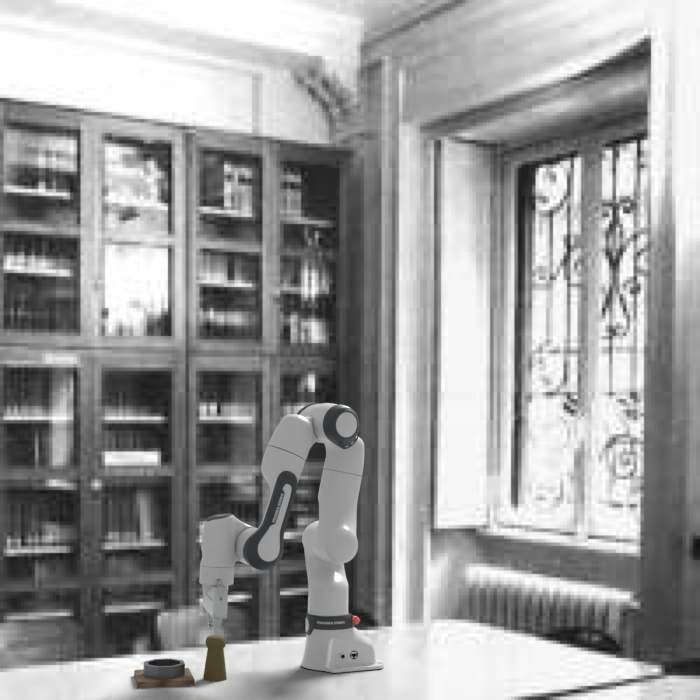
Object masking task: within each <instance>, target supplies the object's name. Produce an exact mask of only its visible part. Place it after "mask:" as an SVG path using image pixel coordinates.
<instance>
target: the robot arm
mask: <svg viewBox="0 0 700 700" xmlns="http://www.w3.org/2000/svg"><path fill="white" fill-rule="evenodd" d="M271 435H272V436H271V437H270V439H269V442H268V444H267V446H266V448H265V451H264V454H263V457H262V461H261V465H260V466H261V467H260V470H261V474H262V477H263V478H264V480H265V481H266V482H267V485H268V487H269V498H268V501H267V504H266V508H265V510H264V514H263V516H262V520H261V523H260V524H259V526H258V527H255V526H252V525H250V524H248V523H245V522H243V521H242V520H240V519H239V518H237V517H236V516H235V515H234V514H232V513H218V514H216V513H215V514H213V515H210V516H208V517H207V518H206V519H205V521H204V524H203V528H202V534H201V545H200V546H201V547H200V550H201V559H200V563H199V581H198V582H199V583H198V584H200V585H201V587H202V603H203V604H202V605H203V608H204V609H205V610H206V611H207V613H206V614H207V616H206V617H207V627H208V629H210V630H211V629H212V635H221V628H222V624H223V620H226V619H227V617H228V605H229V604H228V603H229V602H228V600H229V599H228V594H229V593H228V591H229V586H232V585H234V578H235V565H236V564H235V563H236V562H237V563H238V562H241V563H243V564H245V565H249V566H250V567H252V568H254V570H255V569H256V570H258V571H268V570H270V569H272V568H274V567H275V566H277V565H278V564H279V562H280V561H281V559H282V557H283V554H284V546H285V543H284V540H285V539H284V537H285V531H286V527H287V524H288V520H289V518H290V515H291V511H292V508H293V505H294V502H295V498H296V493H297V490H298V484H299V480H300V477H301V475H302V471H303V469H304V466H305V463H306V460H307V458H308V455H309V452H310V449H311V448H312V447H313V445H314V444H315V443H318V444H324V447H325V454H326V455H325V458H324V459H325V460H324V463H323V469H322V472H321V477H320V484H319V490H318V493H317V500H318V520H316V521H313V522H311V523H310V524H308V525H306V527H305V528H304V530H303V533H302V537H301V542H302V545H303V549H304V559H305V560H304V561H305V568H306V569H305V570H306V574H307V575H306V576H307V591H308V592H307V593H308V594H307V596H308V597H307V599H308V600H307V612H306V616H305V634H306V637H305V638H306V640H305V647H304V652H303V657H302V660H301V662H300V666H301V667H303V668H306V669H309V670H314V671H322V672H326V673H327V672H328V673H333V674H335V673H337V674H338V673H348V672H359V671H371V670H380V669H383V668H384V662H383V660H382V659H380V658H378V657H377V656H376V649H375V647H374V644H373V642H372V641H371V639H369V637H367V636H366V635H365V634H364V633H363V632H361V631H360V630H359V629H358V628H356V627H355V625H359V623H360V622H361V619H360V618H359V616H357V615H353V614H352V613H350V612H349V582H348V579H347V575H346V570H345V564H347V563H349V562H350V561H352V560H353V559H354V557H356V554H357V553H358V550H359V542H358V541H359V540H358V538H357V524H358V522H357V517H358V516H357V515H358V514H357V513H358V512H357V511H358V509H357V508H358V500H359V495H360V494H359V493H360V489H361V483H362V479H363V473H364V467H365V466H364V465H365V464H364V463H365V443H364V441H363V439H362V438H361V437H360V421H359V417H358V414H357V412H356V411H355V410H354V409H353V408H351V407H350V406H348V405H344V404H337V403H332V402H331V403H330V402H325V403H324V402H323V403H309V404H306V405H304V406H303V407H302V408H300V409H299V410H298V412H297V413H290V414H287V415H284V416H283V417H282V419H281V420H280V422H279V423H278V425H277V426H276V428H275V429H274V432H273V433H272V434H271Z"/></svg>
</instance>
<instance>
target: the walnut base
mask: <svg viewBox="0 0 700 700" xmlns="http://www.w3.org/2000/svg"><path fill="white" fill-rule="evenodd" d="M133 672H134V673H133V677H134V680H135V684H136V687H137V689H152V688H153V689H155V688H178V687H193V686H194V687H195V678H194V676H193V673H192V671H191V669H190V668H189V667H185V676H182V677H179V678H175V679H151V678H145V677H144V674H143V669H134V671H133Z"/></svg>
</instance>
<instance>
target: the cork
mask: <svg viewBox="0 0 700 700" xmlns="http://www.w3.org/2000/svg"><path fill="white" fill-rule="evenodd" d="M226 645H227V639H226V637H225V636H224V635H221V634H220V635H213V634H211V635H208V636H207V637H206V639H205V647H206V648H207V651H206V657H205V664H204V670H203V677H202V679H203V681H205V682H222V681H226V680H227V678H228V677H227V668H226V659H225V648H226Z"/></svg>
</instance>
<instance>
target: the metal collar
mask: <svg viewBox="0 0 700 700" xmlns="http://www.w3.org/2000/svg"><path fill="white" fill-rule="evenodd" d="M185 668H186V663H185V661H184V659H183V660H182V659H178V658H177V659H176V658H171V657H169V658H153V659H150V660H145V661H143V669H142V670H143V674H144V677H145V678H151V679H175V678H179V677H182V676H185Z"/></svg>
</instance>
